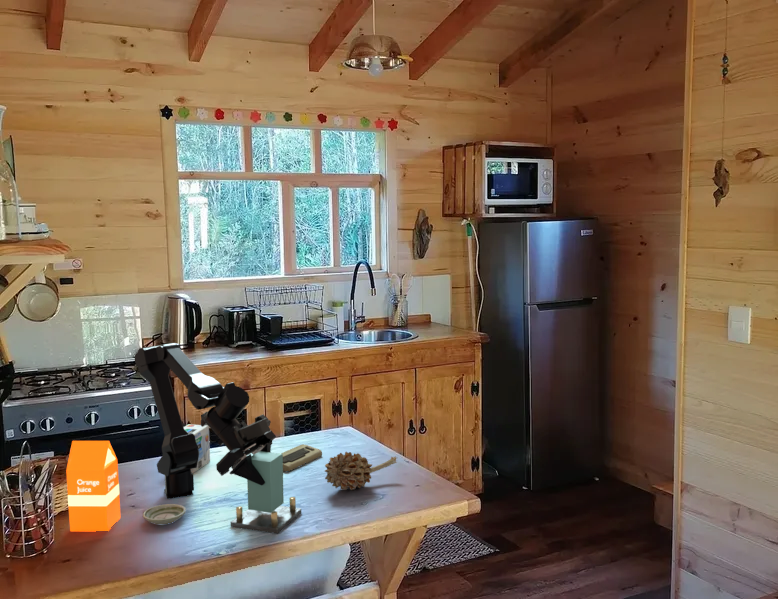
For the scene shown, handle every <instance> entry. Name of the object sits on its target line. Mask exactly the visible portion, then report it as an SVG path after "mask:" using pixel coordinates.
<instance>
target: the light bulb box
mask: <svg viewBox="0 0 778 599" xmlns="http://www.w3.org/2000/svg"><path fill="white" fill-rule="evenodd" d="M183 427H184V430H185V431H187V432H188V433H189V434H191V433H193V434H194V436H195V440H196V443H197V446H198V449H199V458H198V463H197V468H193V469H191V472H192V473H193V474H195V473H196V472H197V471H198V470H200V469H201V468H203V467H204V466H206V465H207V464H208V463H210V462H211V448H210V427H209V426H208V424H206V425H205V426H203V427H202V426H201V424H187V425H185V426H183ZM209 461H210V462H209ZM205 464H206V465H205Z"/></svg>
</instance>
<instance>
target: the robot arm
mask: <svg viewBox="0 0 778 599" xmlns="http://www.w3.org/2000/svg"><path fill="white" fill-rule="evenodd" d="M134 363H135V365H136V367H137V369H138V372H139V374H140V375H141V376H142V377H143V378H145V380H146V381H147V382H148V383H149V385H150V388H151V392H152V396H153V399H154V402H155V405H156V408H157V409H156V410H157V412H158V413H157V414H158V416H159V421H160V423H161V428H162V430H163V435H164V438H163V441H162V444H161V453H162V456H161V457H160V459H159V460H158V461H157V463H156V468H157V472H158V473H159V474H161V475H164V494H165V497H166V498H165V499H167V500H172V499H179V498H183V497H191V496H193V495H194V491H195V483H194V482H195V481H194V473H192V472H191V469H193V468H197V463H198V458H199V449H198V446H197V443H196V440H195V436H194V434H193V433H191V434H189V433H188V432H187V431H185V430H184V427H185V426H184V425H183V421H182V418H181V414H180V411H179V407H178V404H177V400H176V397H175V394H174V390H173V387H172V383H171V380H170V376H169V375H170V373H171V372H173V374H175V376H176V378H177V379H179V381H180V382H181V383H182V384H183V385H184V386H185V388H186V389H187V398H188V400H189V401H190V403H191V404H192V406H193V407H194V409H196V410H198V411H199V410H200V411H201V410H203V409H208V408H210V409H209V410H208V411H206V412H204V413H202V414H200V425H201V426H202V427H203V426H205V425H208V426H209V429H211V431H212V432H213V433H214V434H215V435H216V436H217V438H218V439H219V440H218V442H217V444H218V445H219V446H222V445H224V446H225V448H227V450H228V452H226V454H225V455H224V456H223V457H222V458H221V459H219V461H218V462H217V463H216V471H217V472H218V473H219V474H220V476H221V477H222V476H224V475H226V474H228V473H229V474H230V475H234V476H236V477H237V476H238V477H240V478H243V479H245V480H247V479H248V480H250V481H252V482H255V483H257V484H259V485H261V486H262V485H264V484H265V481H264V479H263V478H262V476H261V475H260V474H259V472H258V471H257V469H256V468H255V467H254V465H253V464H252V459H251V456H253V455H254V454H256V453H258V452H259V451H263V452H271V449H272V445H273V441H274V439H276V438H277V436H276V434H275V433H274V432H273V431H272V430H271V428H270V425H271V423H272V422H271V420H270V419H269V418H268V417H267V416H266V415H265V414H260V415H258V416H256V417H255V418H254V422H252V423H251V424H249V425H248V424H247V423H246V422H245V421H241V422H239V420H237V419H236V418H238V416H239V415H240V414H241V413H242V411H244V410H245V408H246V407H247V405H248V404H249V403H250V396H249V393H248V391H246V390H245V389H243V388H242V387H241V386H237V385H236V384H235V382H229V383H226V384H225V385H224V386H223V385H222V383H220V382H219V381H218V380H216V378H214V377H212V376H209V375H206V374H204V373H203V372H202V371H201V370H200V369H199V368H198V367H197V366H196V364H195V363H194V362H193V361H192V360H191V359H190V358H189V357H188V355H186V354H185V352H184V351H183V350H182V347H181V344H179V343H176V342H171V343H165V344H159V345H151V346H146V347H140V348H138V350H137V352H136V353H135V354H134ZM230 469H232V470H231V471H230Z"/></svg>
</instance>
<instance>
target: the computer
mask: <svg viewBox="0 0 778 599" xmlns="http://www.w3.org/2000/svg"><path fill="white" fill-rule="evenodd" d="M280 454H283V472H285V471H289V472H291V471H294V470H296V469H297V467H298V468H299V466H300V467H301V465H302V466H304V465H306V464H308V463H311V462H312V461H315V460H316V458H317V459H318V457H319V458H321V457H322V456H323V451H322V450H321V449H319V448H316V447H313V446H310V445H308V444H304V443H302V444H299V445H297V446H295V447H292V448H290V449H288V450H285V451H284V452H283V451H282V452H281V453H280ZM314 459H315V460H314ZM305 463H306V464H305ZM295 468H296V469H295ZM293 469H294V470H293ZM290 470H291V471H290Z"/></svg>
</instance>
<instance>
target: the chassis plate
mask: <svg viewBox="0 0 778 599" xmlns="http://www.w3.org/2000/svg"><path fill="white" fill-rule="evenodd" d="M296 500H297V499H296V497H295V496H290V497H289V506H285V505H281V506H279V507H278V508H277V509H275V510H274V511H273V512H271V513H269V512H263V511H256V510H249V509H248V508H247V509H246V510H245V511H243V506H241V505H240V506H236V508H235V510H236V511H235V514H236V516H235V518H233V520H231V521H230V527H231V528H235V529H241V528H242V529H243V530H249V531H256V532H261V533H262V532H263V533H267V534H269V533H270V534H274V535H278V534H279V533H280V532H282V531H283V530H284V529H286V527H287V526H288V525H290V524H291V523H292V522H294V520H296V519H297V518H298V517H299V516H300V515H301V514H302V508H301V507H297V506H296Z"/></svg>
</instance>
